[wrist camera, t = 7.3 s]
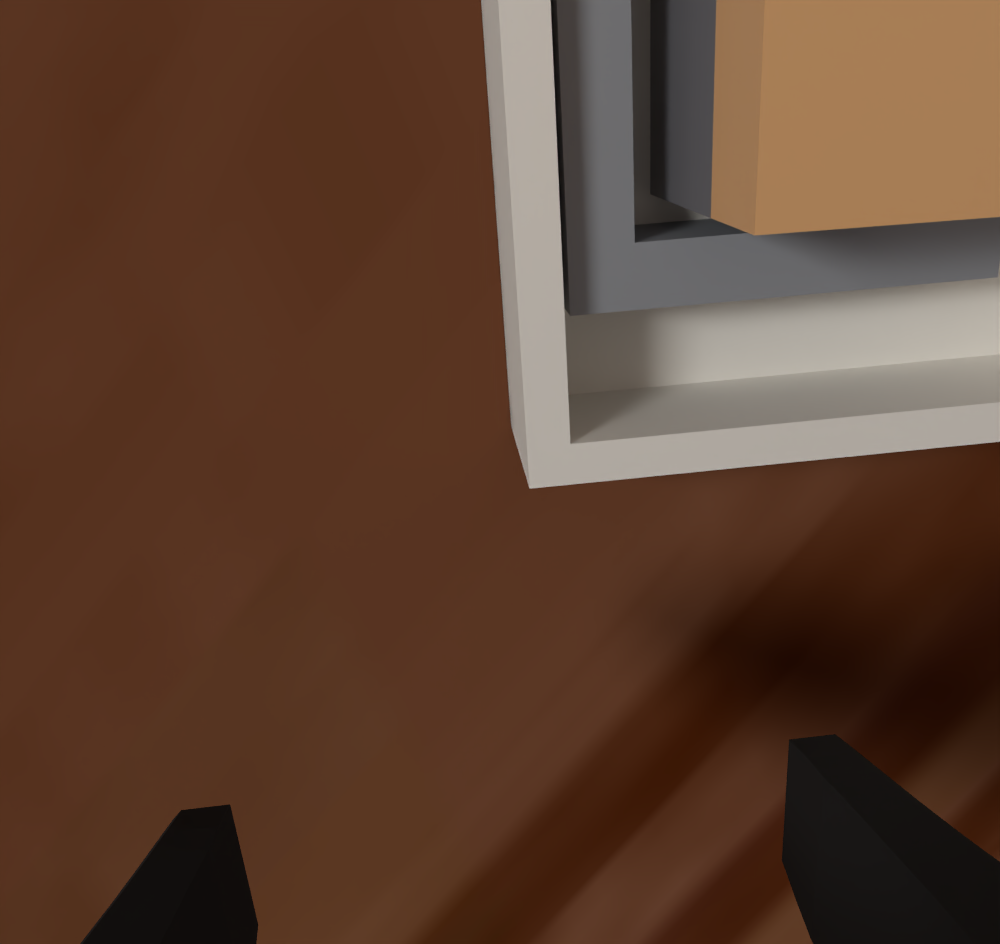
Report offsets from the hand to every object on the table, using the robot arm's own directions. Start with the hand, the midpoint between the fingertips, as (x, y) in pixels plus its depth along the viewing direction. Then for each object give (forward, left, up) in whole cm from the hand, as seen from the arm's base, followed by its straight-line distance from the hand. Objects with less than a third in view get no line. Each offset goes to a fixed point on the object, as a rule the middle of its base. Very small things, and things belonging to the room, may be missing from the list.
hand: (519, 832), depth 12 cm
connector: (-6, -9, -9) cm, 14 cm away
